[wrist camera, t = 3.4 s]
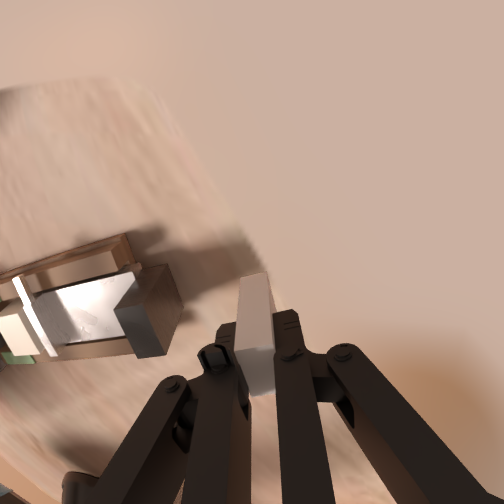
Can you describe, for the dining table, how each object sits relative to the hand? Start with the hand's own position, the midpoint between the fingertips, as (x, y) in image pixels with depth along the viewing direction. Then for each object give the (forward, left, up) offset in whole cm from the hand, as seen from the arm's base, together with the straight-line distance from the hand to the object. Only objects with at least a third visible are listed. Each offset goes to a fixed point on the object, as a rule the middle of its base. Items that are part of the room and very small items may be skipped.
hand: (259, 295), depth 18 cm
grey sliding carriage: (-12, +1, -4) cm, 13 cm away
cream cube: (-21, 0, -5) cm, 22 cm away
